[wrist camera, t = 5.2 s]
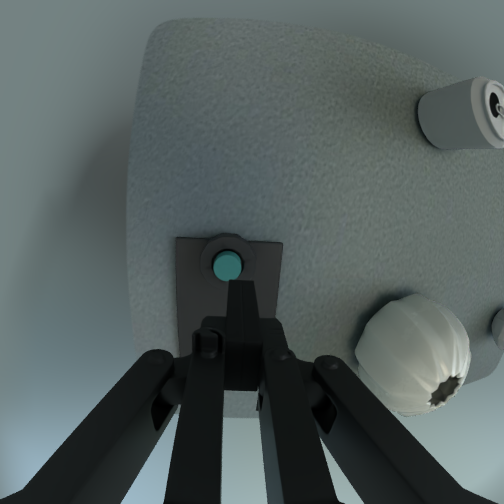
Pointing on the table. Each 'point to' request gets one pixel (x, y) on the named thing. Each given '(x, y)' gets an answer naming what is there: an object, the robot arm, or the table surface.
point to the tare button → (227, 265)
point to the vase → (413, 355)
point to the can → (464, 115)
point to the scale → (216, 290)
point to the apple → (498, 329)
